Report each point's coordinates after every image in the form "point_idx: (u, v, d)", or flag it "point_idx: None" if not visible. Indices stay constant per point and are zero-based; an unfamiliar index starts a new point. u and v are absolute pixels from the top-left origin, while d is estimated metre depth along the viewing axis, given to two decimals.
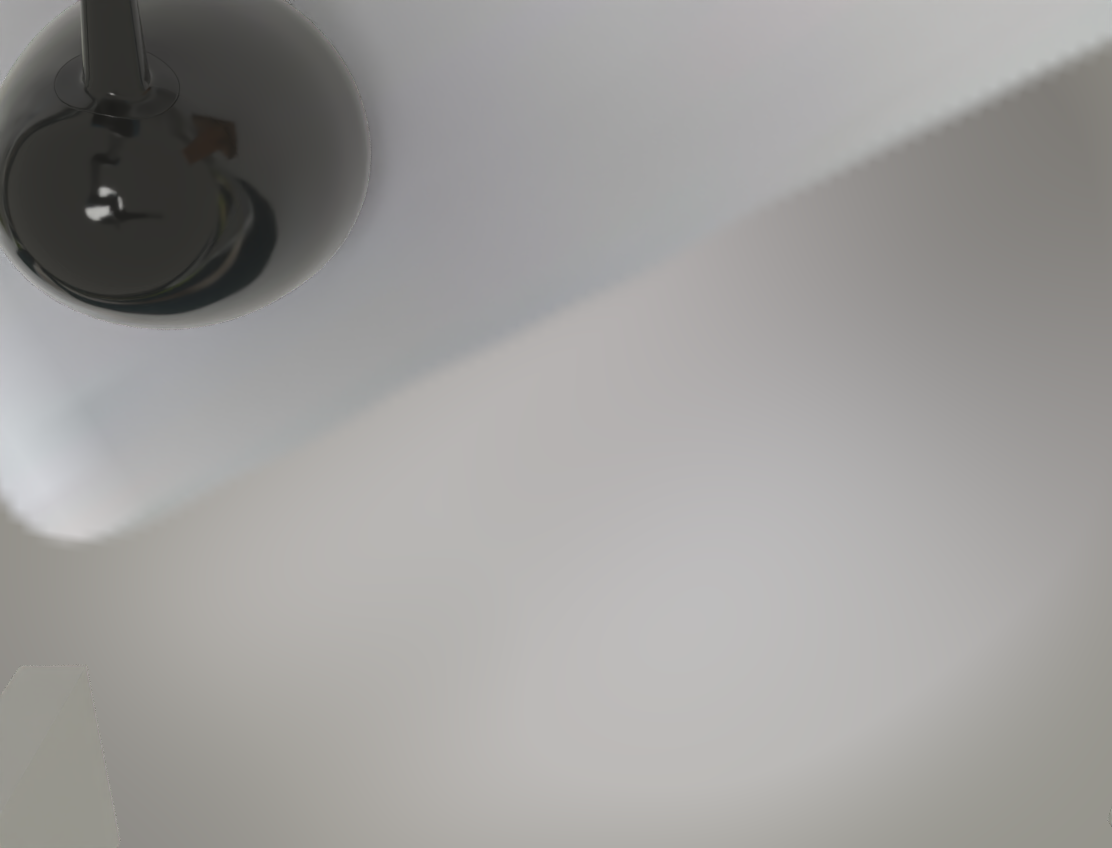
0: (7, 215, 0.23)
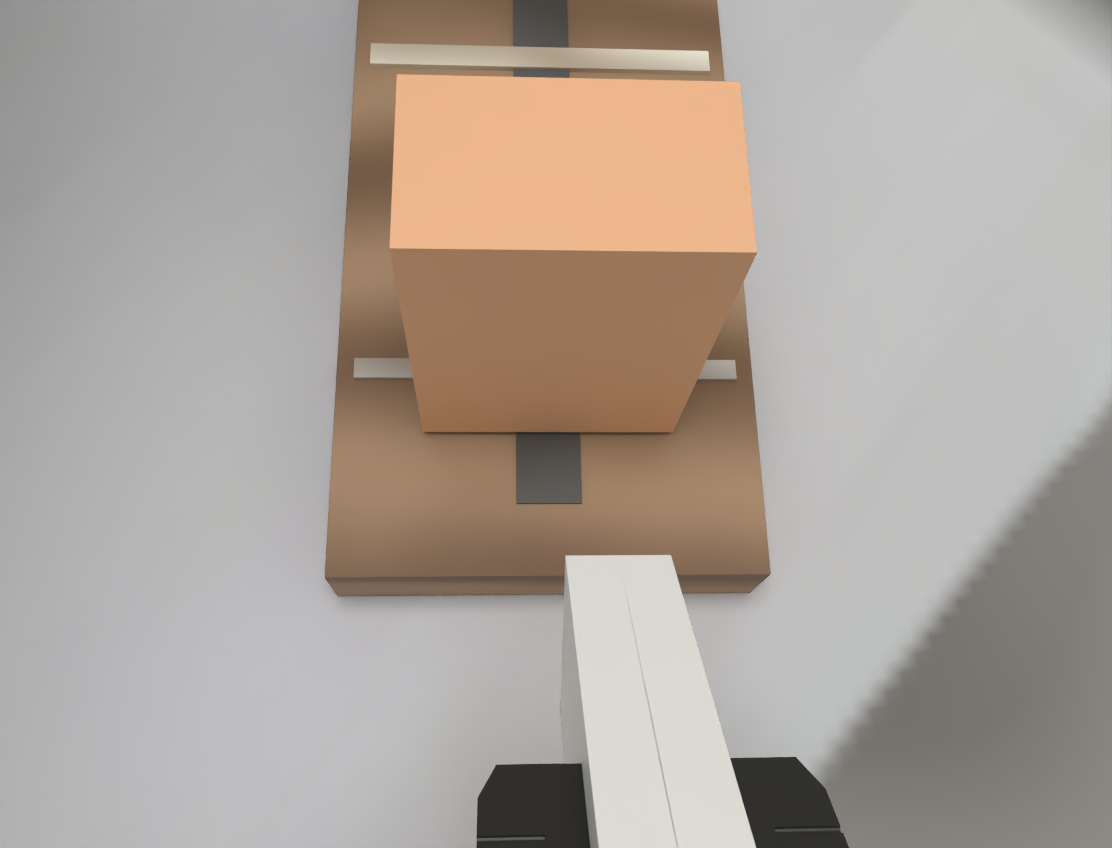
0: None
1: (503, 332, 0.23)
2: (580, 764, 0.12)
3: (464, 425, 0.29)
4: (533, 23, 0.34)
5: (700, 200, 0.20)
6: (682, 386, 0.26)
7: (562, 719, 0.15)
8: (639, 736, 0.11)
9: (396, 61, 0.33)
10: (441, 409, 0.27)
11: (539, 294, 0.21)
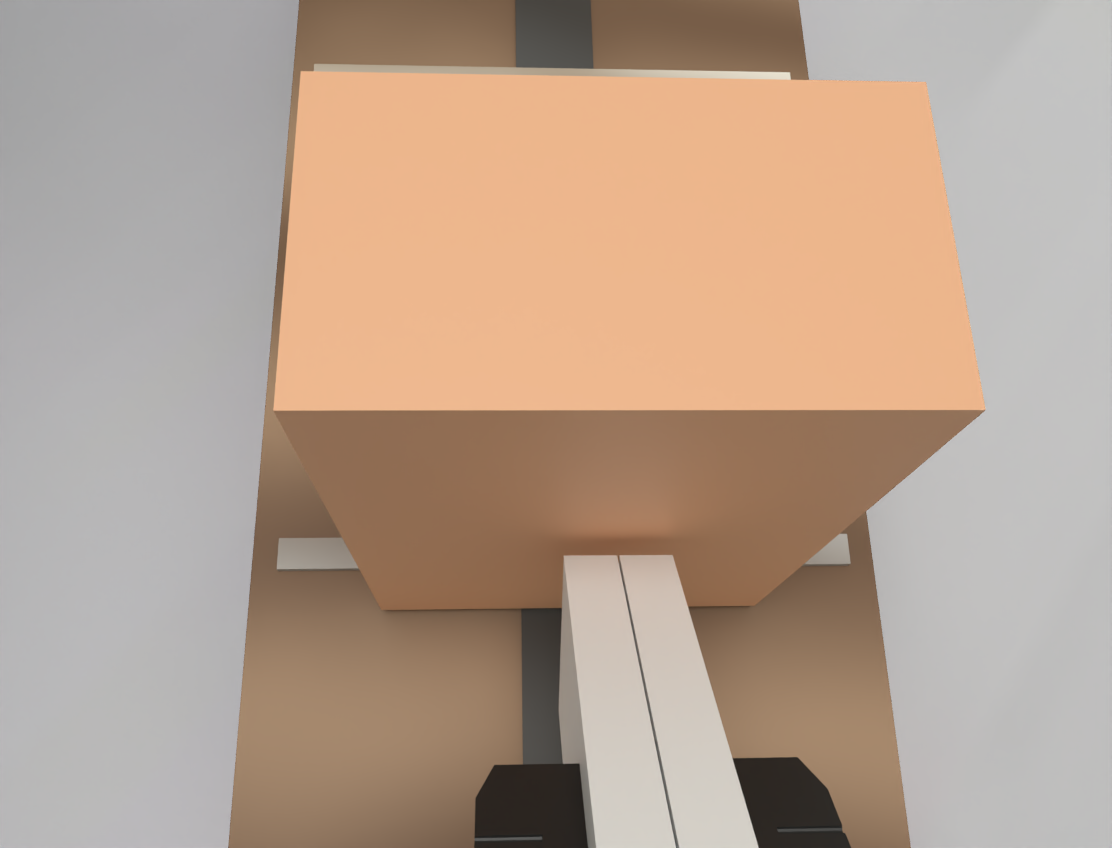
0: None
1: (499, 513, 0.13)
2: (578, 764, 0.12)
3: (443, 603, 0.19)
4: (544, 34, 0.25)
5: (871, 307, 0.11)
6: (784, 564, 0.17)
7: (561, 719, 0.15)
8: (641, 736, 0.11)
9: None
10: (405, 590, 0.18)
11: (564, 468, 0.12)
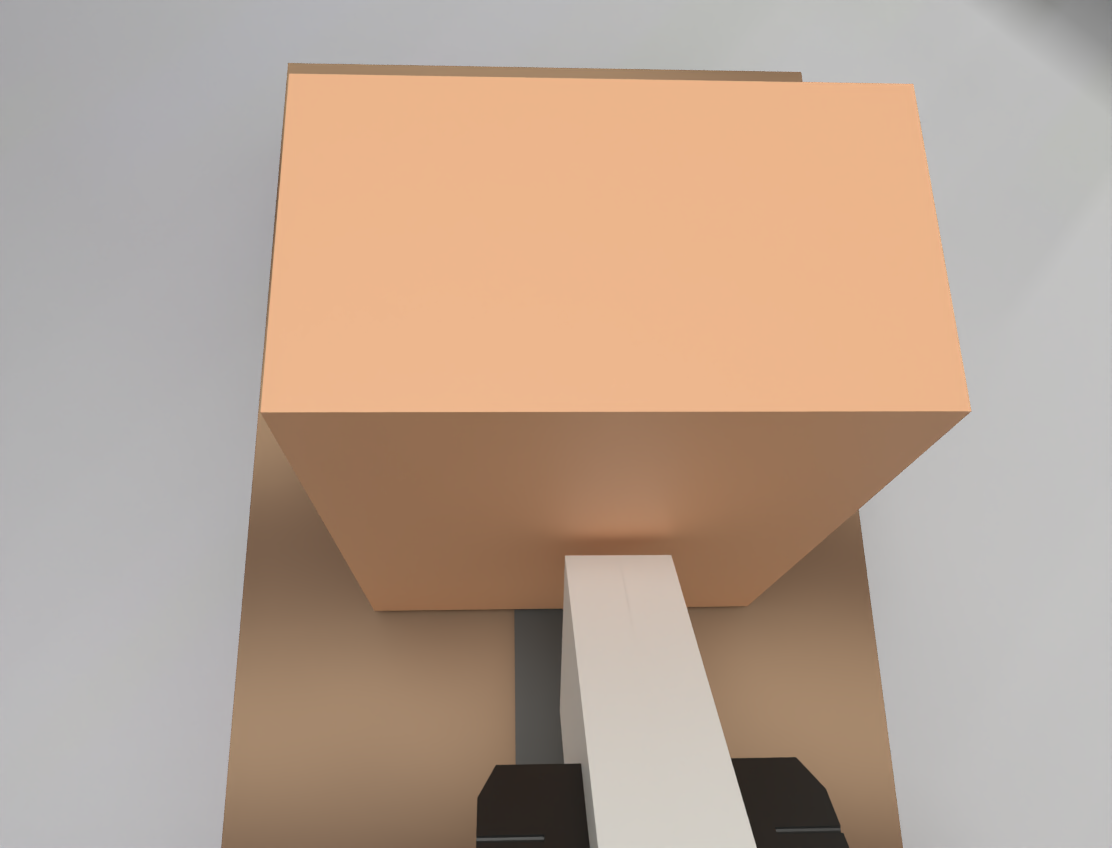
0: None
1: (489, 515, 0.14)
2: (579, 764, 0.12)
3: (436, 604, 0.19)
4: None
5: (858, 308, 0.11)
6: (775, 565, 0.17)
7: (562, 719, 0.15)
8: (639, 736, 0.11)
9: None
10: (398, 591, 0.18)
11: (554, 470, 0.12)
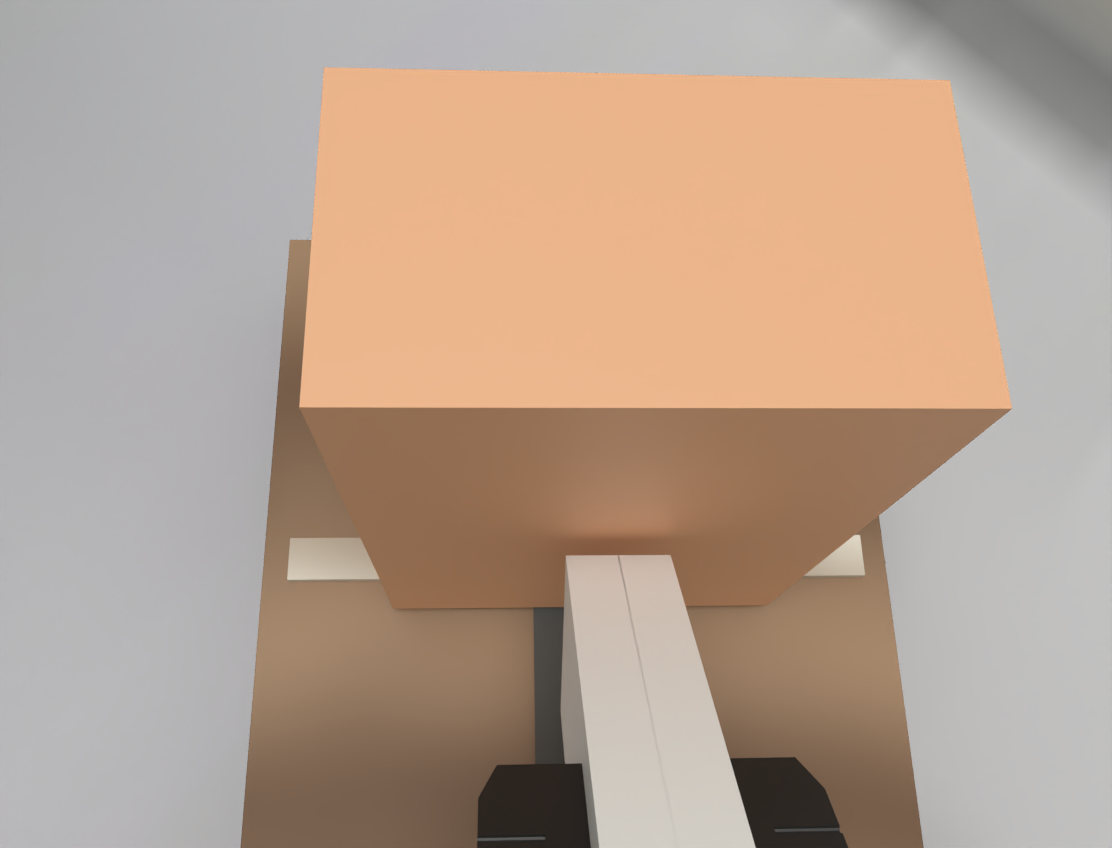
0: None
1: (518, 512, 0.13)
2: (580, 764, 0.12)
3: (455, 602, 0.19)
4: None
5: (896, 305, 0.11)
6: (799, 564, 0.17)
7: (562, 719, 0.15)
8: (638, 736, 0.11)
9: (332, 573, 0.20)
10: (419, 589, 0.18)
11: (587, 466, 0.12)
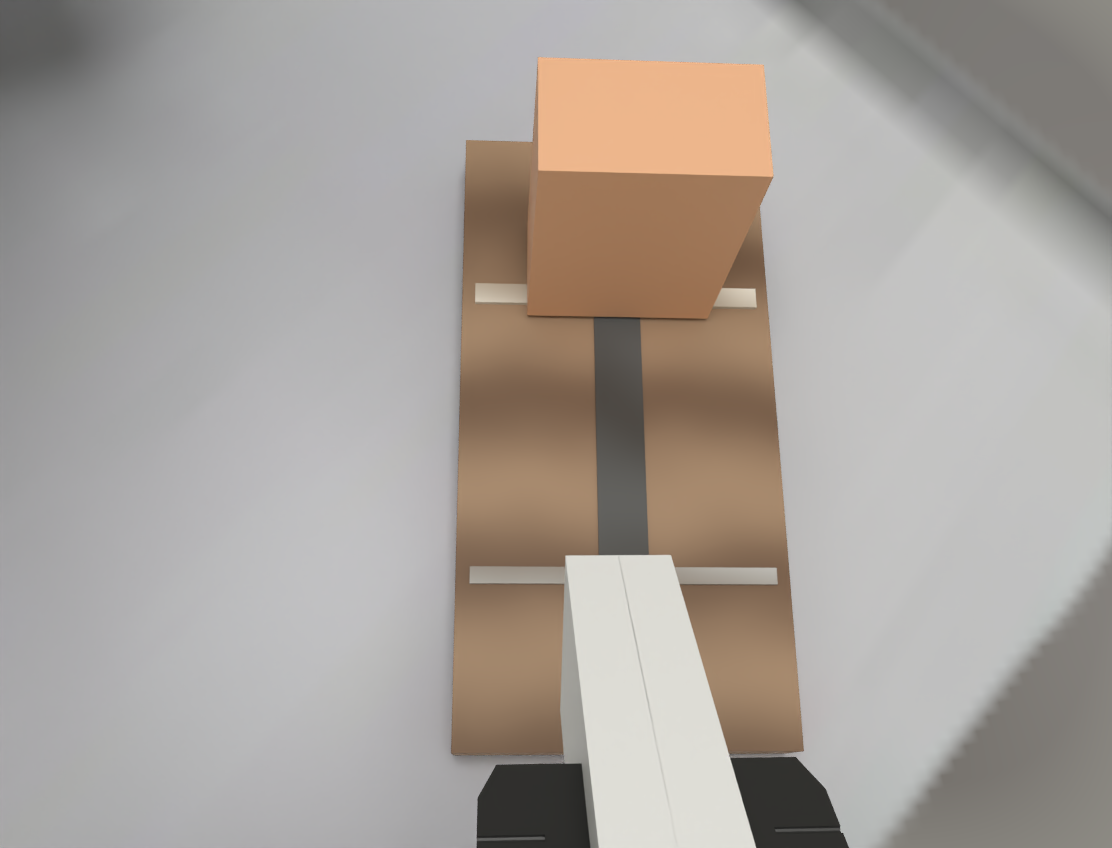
0: None
1: (599, 233, 0.34)
2: (580, 764, 0.12)
3: (558, 310, 0.40)
4: None
5: (737, 143, 0.31)
6: (717, 279, 0.37)
7: (562, 719, 0.15)
8: (639, 736, 0.11)
9: (496, 299, 0.40)
10: (544, 296, 0.38)
11: (629, 205, 0.32)
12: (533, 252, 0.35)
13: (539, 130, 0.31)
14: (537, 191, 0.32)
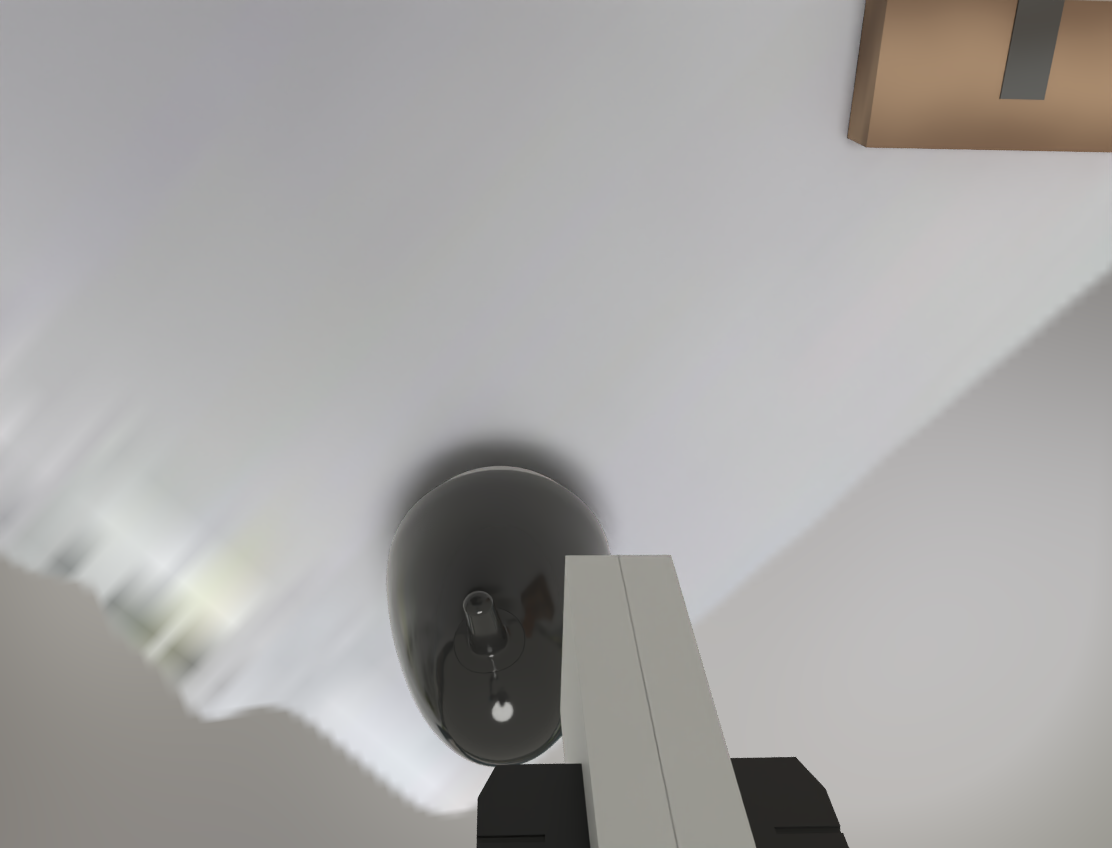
0: (456, 741, 0.38)
1: None
2: (580, 764, 0.12)
3: None
4: None
5: None
6: None
7: (562, 719, 0.15)
8: (638, 736, 0.11)
9: None
10: None
11: None
12: None
13: None
14: None
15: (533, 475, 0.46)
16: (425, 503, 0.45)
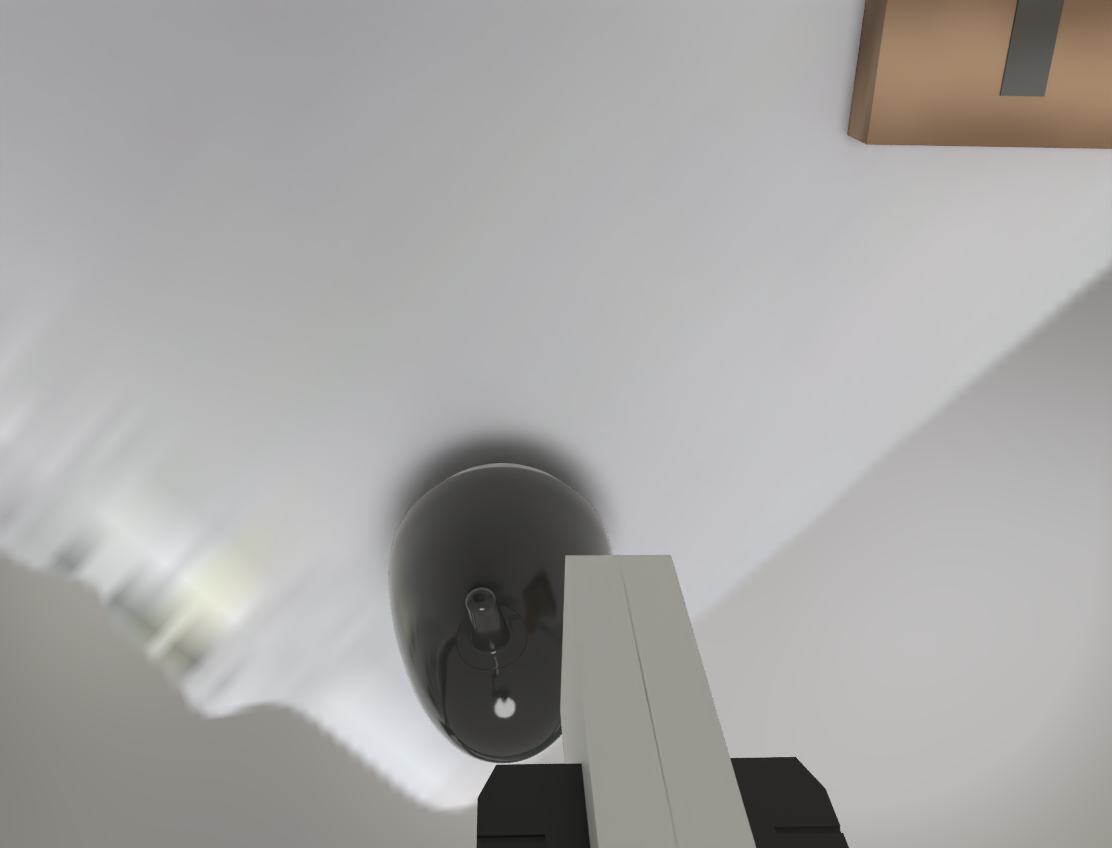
0: (459, 738, 0.38)
1: None
2: (580, 764, 0.12)
3: None
4: None
5: None
6: None
7: (562, 719, 0.15)
8: (639, 736, 0.11)
9: None
10: None
11: None
12: None
13: None
14: None
15: (534, 472, 0.46)
16: (427, 500, 0.45)
